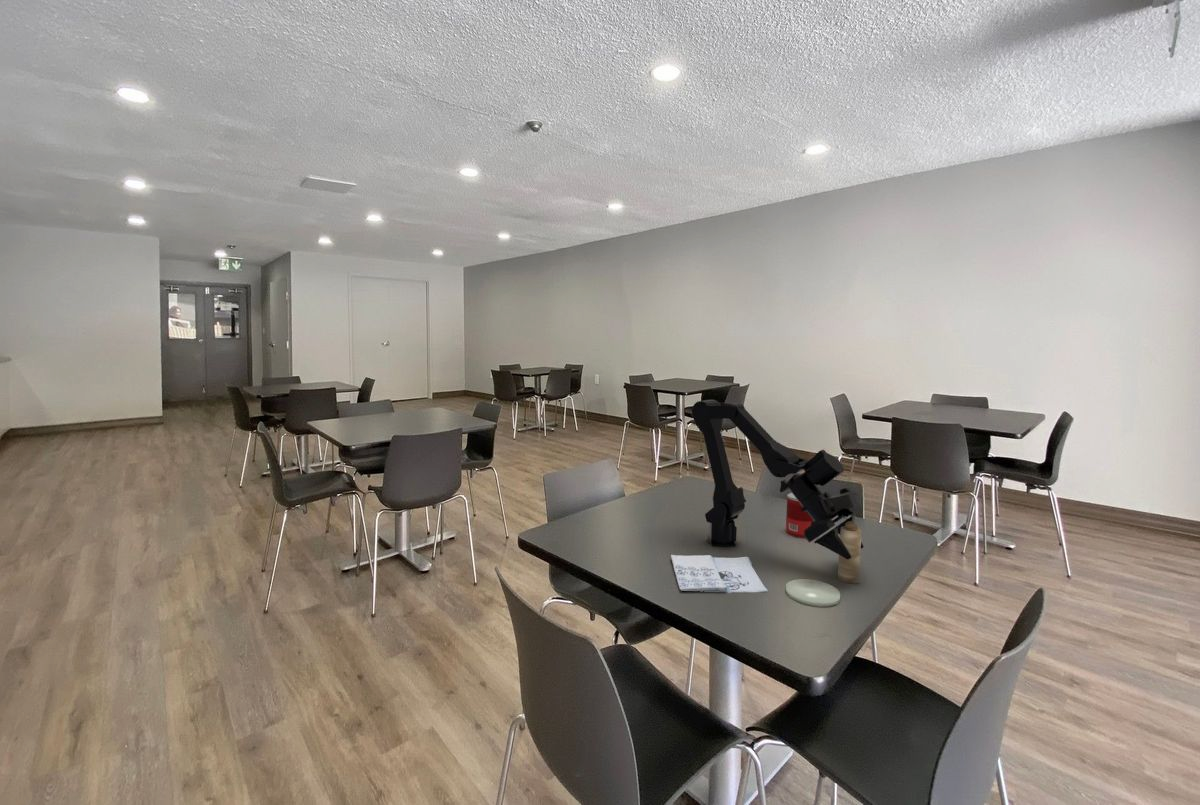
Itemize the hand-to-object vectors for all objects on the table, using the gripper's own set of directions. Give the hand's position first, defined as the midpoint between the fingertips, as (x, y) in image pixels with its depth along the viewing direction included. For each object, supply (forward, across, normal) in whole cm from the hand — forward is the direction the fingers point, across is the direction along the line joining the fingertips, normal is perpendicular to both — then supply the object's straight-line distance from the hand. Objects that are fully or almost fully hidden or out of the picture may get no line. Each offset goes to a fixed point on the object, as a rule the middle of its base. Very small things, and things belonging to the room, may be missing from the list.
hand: (856, 553), depth 123 cm
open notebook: (-12, -19, +23) cm, 32 cm away
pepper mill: (+4, 0, +6) cm, 7 cm away
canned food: (-11, +22, +20) cm, 32 cm away
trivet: (+2, -13, +8) cm, 16 cm away
